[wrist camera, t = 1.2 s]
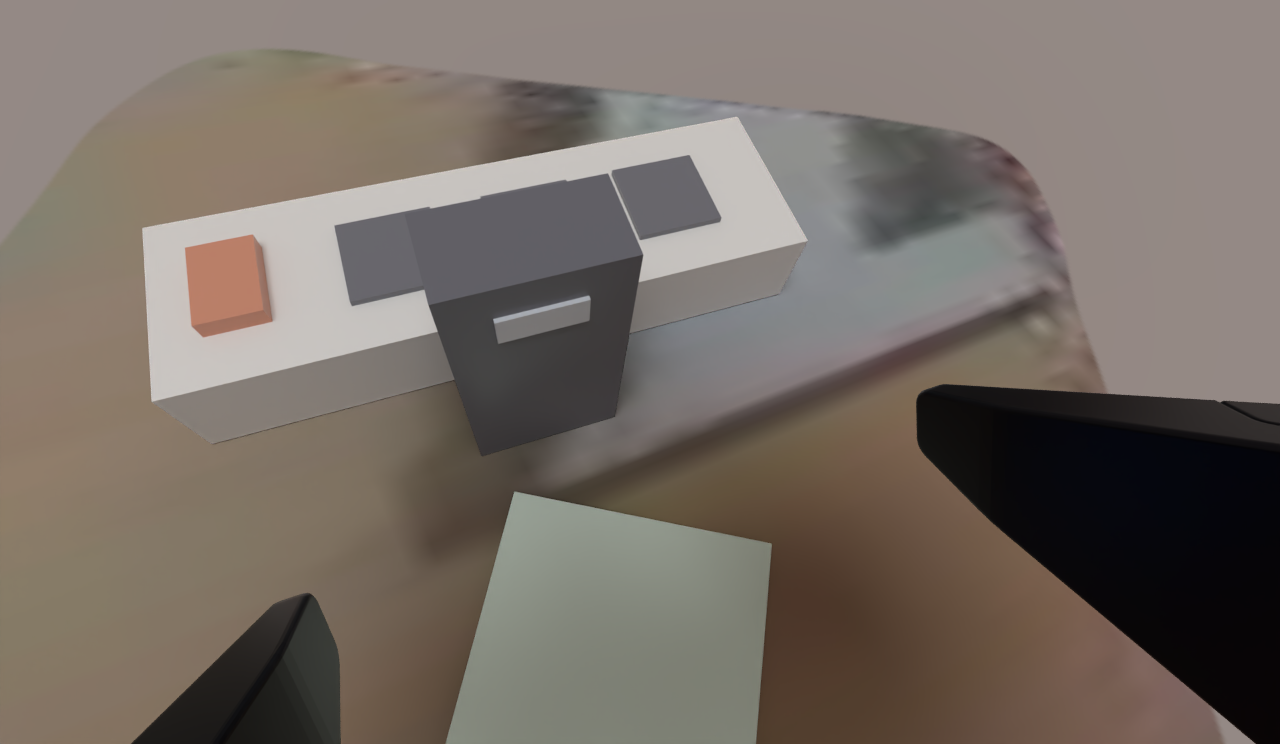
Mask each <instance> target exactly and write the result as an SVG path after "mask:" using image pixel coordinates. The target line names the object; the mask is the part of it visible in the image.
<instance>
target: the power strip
mask: <svg viewBox="0 0 1280 744" xmlns="http://www.w3.org/2000/svg"><path fill="white" fill-rule="evenodd" d="M607 173H608V174H609V177H610V179H611V181H612V183H613V186H614V188H615V190H616V193H617V195H618V197H619V200H620V202H621V204H622V206H623V209H624V211H625V213H626V216H627V218H628V220H629V222H630V225H631V227H632V229H633V232H634V234H635V236H636V239H637V241H638V243H639V245H640V248H641V250H642V252H643V260H642V266H641V271H640V277H639V283H638V288H637V294H636V299H635V305H634V311H633V316H632V322H631V327H630V333H634V332H637V331H641V330H645V329H649V328H652V327H656V326H660V325H664V324H668V323H671V322H675V321H679V320H683V319H686V318H690V317H694V316H698V315H702V314H705V313H709V312H713V311H717V310H720V309H724V308H728V307H732V306H736V305H739V304H743V303H747V302H751V301H754V300H758V299H762V298H766V297H769V296H773V295H777V294H780V292H781V290H782V288H783V286H784V284H785V283H786V281H787V279H788V277H789V275H790V273H791V271H792V269H793V268H794V266H795V264H796V262H797V260H798V258H799V256H800V255H801V253H802V251H803V249H804V247H805V245H806V243H807V241H808V240H807V238H806V237H805V235H804V233H803V231H802V230H801V228H800V226H799V224H798V223H797V221H796V219H795V217H794V215H793V214H792V212H791V210H790V208H789V207H788V205H787V203H786V201H785V200H784V198H783V196H782V194H781V193H780V191H779V189H778V187H777V186H776V184H775V182H774V180H773V178H772V177H771V175H770V173H769V171H768V170H767V168H766V166H765V164H764V163H763V161H762V159H761V157H760V156H759V154H758V152H757V150H756V148H755V147H754V145H753V143H752V141H751V140H750V138H749V136H748V134H747V133H746V131H745V129H744V127H743V126H742V124H741V122H740V120H739V119H738V117H734V118H728V119H723V120H717V121H712V122H707V123H701V124H696V125H691V126H685V127H680V128H675V129H669V130H664V131H659V132H653V133H648V134H643V135H637V136H632V137H627V138H621V139H616V140H611V141H605V142H600V143H595V144H589V145H584V146H578V147H573V148H568V149H562V150H557V151H552V152H546V153H541V154H536V155H530V156H525V157H520V158H514V159H509V160H504V161H498V162H493V163H488V164H482V165H477V166H472V167H466V168H461V169H456V170H450V171H445V172H439V173H434V174H429V175H423V176H418V177H413V178H407V179H402V180H397V181H391V182H386V183H381V184H375V185H370V186H365V187H359V188H354V189H349V190H343V191H338V192H333V193H327V194H322V195H317V196H311V197H306V198H300V199H295V200H290V201H284V202H279V203H274V204H268V205H263V206H258V207H252V208H247V209H242V210H236V211H231V212H226V213H220V214H215V215H210V216H204V217H199V218H194V219H188V220H183V221H178V222H172V223H167V224H161V225H156V226H151V227H145V228H142V229H143V248H144V267H145V285H146V304H147V323H148V342H149V360H150V379H151V398H152V402H153V403H154V404H155V405H157V406H158V407H160V408H161V409H163V410H164V411H165V412H167V413H168V414H170V415H171V416H172V417H174V418H175V419H177V420H178V421H180V422H181V423H182V424H184V425H185V426H187V427H188V428H190V429H191V430H192V431H194V432H195V433H197V434H198V435H199V436H201V437H202V438H204V439H205V440H207V441H208V442H209V443H211V444H214V443H218V442H222V441H226V440H230V439H233V438H237V437H241V436H245V435H248V434H252V433H256V432H260V431H263V430H267V429H271V428H275V427H279V426H282V425H286V424H290V423H294V422H297V421H301V420H305V419H309V418H313V417H316V416H320V415H324V414H328V413H331V412H335V411H339V410H343V409H347V408H350V407H354V406H358V405H362V404H365V403H369V402H373V401H377V400H381V399H384V398H388V397H392V396H396V395H399V394H403V393H407V392H411V391H415V390H418V389H422V388H426V387H430V386H433V385H437V384H441V383H445V382H449V381H452V380H455V379H454V376H453V374H452V371H451V368H450V365H449V362H448V359H447V357H446V354H445V351H444V348H443V345H442V342H441V340H440V337H439V334H438V331H437V328H436V325H435V323H434V320H433V317H432V314H431V311H430V308H429V306H428V302H427V298H426V294H425V290H424V287H423V283H422V279H421V275H420V271H419V267H418V264H417V260H416V256H415V252H414V248H413V244H412V241H411V237H410V233H409V229H408V225H407V221H406V218H405V214H406V213H411V212H416V211H421V210H426V209H431V208H436V207H441V206H446V205H451V204H456V203H461V202H466V201H471V200H476V199H481V198H486V197H491V196H496V195H501V194H506V193H511V192H516V191H521V190H526V189H531V188H536V187H541V186H546V185H551V184H556V183H561V182H566V181H571V180H577V179H582V178H587V177H592V176H597V175H602V174H607ZM630 333H629V334H630Z"/></svg>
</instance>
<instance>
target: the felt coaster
mask: <svg viewBox="0 0 1280 744" xmlns="http://www.w3.org/2000/svg"><path fill="white" fill-rule="evenodd" d="M771 548H772V544H771V543H766V542H762V541H757V540H752V539H747V538H742V537H737V536H732V535H727V534H722V533H717V532H712V531H707V530H702V529H697V528H692V527H687V526H682V525H677V524H672V523H667V522H662V521H657V520H653V519H648V518H643V517H638V516H633V515H628V514H623V513H618V512H613V511H608V510H603V509H598V508H593V507H588V506H583V505H578V504H573V503H568V502H563V501H558V500H553V499H548V498H544V497H539V496H534V495H529V494H524V493H519V492H514V495H513V499H512V502H511V506H510V509H509V513H508V517H507V520H506V524H505V528H504V531H503V535H502V539H501V542H500V546H499V550H498V553H497V557H496V561H495V564H494V568H493V572H492V575H491V579H490V583H489V586H488V590H487V594H486V597H485V601H484V605H483V608H482V612H481V616H480V619H479V623H478V627H477V630H476V634H475V638H474V641H473V645H472V649H471V652H470V656H469V660H468V663H467V667H466V671H465V674H464V678H463V682H462V685H461V689H460V693H459V696H458V700H457V704H456V707H455V711H454V715H453V718H452V722H451V726H450V729H449V733H448V737H447V740H446V744H756V736H757V723H758V711H759V698H760V686H761V673H762V661H763V648H764V636H765V623H766V611H767V598H768V586H769V573H770V561H771Z"/></svg>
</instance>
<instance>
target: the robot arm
mask: <svg viewBox="0 0 1280 744" xmlns="http://www.w3.org/2000/svg"><path fill="white" fill-rule="evenodd" d="M916 413H917V441H918V445H919V447H920V449H921V451H922V452H923V454H924V455H925V456H926V457H927V458H928V459H929V460H930V461H931V462H932V463H933V464H934V465H935V466H936V467H937V468H938V469H939V470H940V471H941V472H942V473H943V474H944V475H945V476H946V477H947V478H948V479H949V480H950V481H951V482H952V483H953V484H954V485H955V486H956V487H957V488H958V489H959V490H960V491H961V492H962V493H963V494H964V495H965V496H966V497H967V498H968V499H969V501H970V502H971V503H972V504H973V505H974V506H975V507H976V508H977V509H978V510H979V511H980V512H982V513H983V514H984V515H985V516H986V517H987V518H988V519H989V520H990V521H991V522H992V523H993V524H994V525H996V526H997V527H998V528H999V529H1000V530H1001V531H1002V532H1004V533H1005V534H1006V535H1007V536H1008V537H1010V538H1011V539H1012V540H1013V541H1014V542H1015V543H1017V544H1018V545H1019V546H1020V547H1021V548H1023V549H1024V550H1025V551H1026V552H1027V553H1029V554H1030V555H1031V556H1032V557H1033V558H1035V559H1036V560H1037V561H1038V562H1039V563H1041V564H1042V565H1043V566H1044V567H1045V568H1047V569H1048V570H1049V571H1050V572H1051V573H1052V574H1054V575H1055V576H1056V577H1057V578H1058V579H1060V580H1061V581H1062V582H1063V583H1064V584H1066V585H1067V586H1068V587H1069V588H1070V589H1072V590H1073V591H1074V592H1075V593H1076V594H1078V595H1079V596H1080V597H1081V598H1082V599H1083V600H1085V601H1086V602H1087V603H1088V604H1089V605H1091V606H1092V607H1093V608H1094V609H1095V610H1097V611H1098V612H1099V613H1100V614H1101V615H1103V616H1104V617H1105V618H1106V619H1107V620H1109V621H1110V622H1111V623H1112V624H1113V625H1115V626H1116V627H1117V628H1118V629H1119V630H1120V631H1122V632H1123V633H1124V634H1125V635H1126V636H1128V637H1129V638H1130V639H1131V640H1132V641H1134V642H1135V643H1136V644H1137V645H1138V646H1140V647H1141V648H1142V649H1143V650H1144V651H1146V652H1147V653H1148V654H1149V655H1150V656H1152V657H1153V658H1154V659H1155V660H1156V661H1157V662H1159V663H1160V664H1161V665H1162V666H1163V667H1165V668H1166V669H1167V670H1168V671H1169V672H1171V673H1172V674H1173V675H1174V676H1175V677H1177V678H1178V679H1179V680H1180V681H1181V682H1183V683H1184V684H1185V685H1186V686H1187V687H1189V688H1190V689H1191V690H1192V691H1193V692H1194V693H1196V694H1197V695H1198V696H1199V697H1200V698H1202V699H1203V700H1204V701H1205V702H1206V703H1208V704H1209V705H1210V706H1211V707H1212V708H1214V709H1215V710H1216V711H1217V712H1218V713H1220V714H1221V715H1222V716H1223V717H1224V718H1226V719H1227V720H1228V721H1229V722H1230V723H1232V724H1233V725H1234V726H1235V727H1236V728H1237V729H1239V730H1240V731H1241V732H1242V733H1243V734H1245V735H1246V736H1247V737H1248V738H1250V739H1251V740H1252V741H1253V742H1254V743H1256V744H1280V404H1270V403H1269V404H1268V403H1250V402H1234V401H1222V402H1220V403H1219V402H1217V401H1215V400H1200V399H1182V398H1166V397H1150V396H1132V395H1116V394H1100V393H1083V392H1067V391H1050V390H1033V389H1017V388H1000V387H984V386H967V385H950V384H942V385H938V386H935V387H932V388H929V389H926V390H924V391H922V392H921V393H920V394H919V395H918V397H917V401H916ZM131 744H341V738H340V664H339V654H338V649H337V646H336V643H335V640H334V638H333V636H332V633H331V631H330V629H329V627H328V624H327V622H326V620H325V617H324V615H323V613H322V611H321V608H320V606H319V604H318V602H317V600H316V598H315V597H314V596H313V595H311V594H309V593H304V594H300V595H297V596H294V597H291V598H288V599H285V600H282V601H279V602H277V603H275V604H273V605H272V606H271V607H270V608H269V609H268V610H267V611H266V612H265V613H264V614H263V615H262V616H261V617H260V618H259V619H258V620H257V621H256V622H255V623H254V624H253V625H252V626H251V627H250V628H249V629H248V630H247V631H246V632H245V633H244V634H243V635H242V636H241V637H240V638H239V639H238V640H237V641H235V642H234V643H233V644H232V645H231V646H230V647H229V648H228V649H227V650H226V651H225V652H224V653H223V654H222V655H221V656H220V657H219V658H218V659H217V660H216V661H215V662H214V663H213V664H212V665H211V666H210V667H209V668H208V669H207V670H206V671H205V672H204V673H203V674H202V675H201V676H200V677H199V678H198V679H197V680H196V681H195V682H194V683H193V684H192V685H191V686H190V687H189V688H187V689H186V690H185V691H184V692H183V693H182V694H181V695H180V696H179V697H178V698H177V699H176V700H175V701H174V702H173V703H172V704H171V705H170V706H169V707H168V708H167V709H166V710H165V711H164V712H163V713H162V714H161V715H160V716H159V717H158V718H157V719H156V720H155V721H154V722H153V723H152V724H151V725H150V726H149V727H148V728H147V729H146V730H145V731H144V732H143V733H142V734H141V735H140V736H138V737H137V738H136V739H135V740H134V741H133V742H132V743H131Z"/></svg>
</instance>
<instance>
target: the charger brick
mask: <svg viewBox="0 0 1280 744" xmlns="http://www.w3.org/2000/svg"><path fill="white" fill-rule="evenodd" d="M405 218H406V221H407V225H408V229H409V233H410V237H411V241H412V244H413V248H414V252H415V256H416V260H417V264H418V267H419V271H420V275H421V279H422V283H423V287H424V290H425V294H426V298H427V302H428V306H429V308H430V311H431V314H432V317H433V320H434V323H435V325H436V328H437V331H438V334H439V337H440V340H441V342H442V345H443V348H444V351H445V354H446V357H447V359H448V362H449V365H450V368H451V371H452V374H453V376H454V379H455V382H456V385H457V388H458V391H459V394H460V396H461V399H462V402H463V405H464V408H465V411H466V413H467V416H468V419H469V422H470V425H471V428H472V430H473V433H474V436H475V439H476V442H477V445H478V447H479V450H480V453H481V456H484V455H487V454H491V453H494V452H498V451H501V450H504V449H508V448H511V447H514V446H518V445H521V444H525V443H528V442H531V441H535V440H538V439H541V438H545V437H548V436H552V435H555V434H558V433H562V432H565V431H568V430H572V429H575V428H579V427H582V426H585V425H589V424H592V423H595V422H599V421H602V420H606V419H609V418H612V417H615V412H616V406H617V400H618V395H619V389H620V384H621V378H622V372H623V367H624V361H625V356H626V350H627V344H628V339H629V333H630V327H631V322H632V316H633V311H634V305H635V299H636V294H637V288H638V283H639V277H640V271H641V266H642V260H643V252H642V250H641V248H640V245H639V243H638V241H637V239H636V236H635V234H634V232H633V229H632V227H631V225H630V222H629V220H628V218H627V216H626V213H625V211H624V209H623V206H622V204H621V202H620V200H619V197H618V195H617V193H616V190H615V188H614V186H613V183H612V181H611V179H610V177H609V174H608V173H607V174H602V175H597V176H592V177H587V178H582V179H577V180H571V181H566V182H561V183H556V184H551V185H546V186H541V187H536V188H531V189H526V190H521V191H516V192H511V193H506V194H501V195H496V196H491V197H486V198H481V199H476V200H471V201H466V202H461V203H456V204H451V205H446V206H441V207H436V208H431V209H426V210H421V211H416V212H411V213H406V214H405Z"/></svg>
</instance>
